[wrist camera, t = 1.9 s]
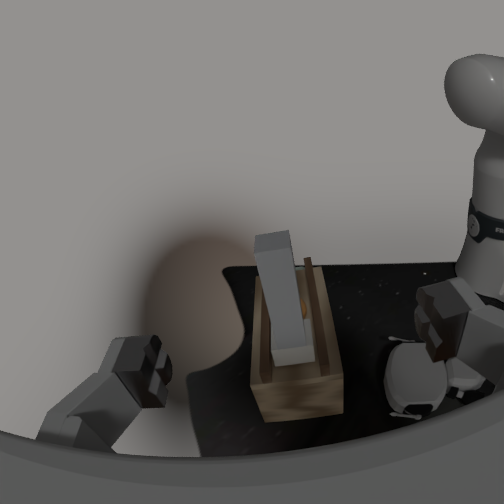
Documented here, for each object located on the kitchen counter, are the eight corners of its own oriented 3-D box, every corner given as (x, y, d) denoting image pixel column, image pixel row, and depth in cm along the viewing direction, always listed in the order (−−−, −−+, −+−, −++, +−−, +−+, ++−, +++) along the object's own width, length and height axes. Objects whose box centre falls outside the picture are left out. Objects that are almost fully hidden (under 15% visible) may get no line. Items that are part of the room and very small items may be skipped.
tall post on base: (312, 335, 37) (295, 223, 29) (315, 361, 34) (299, 246, 26) (274, 340, 38) (248, 231, 30) (275, 366, 34) (245, 254, 27)
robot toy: (472, 352, 38) (380, 354, 42) (482, 331, 36) (385, 332, 40) (486, 422, 28) (379, 429, 33) (500, 404, 26) (386, 412, 30)
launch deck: (325, 310, 53) (319, 255, 48) (343, 413, 36) (343, 362, 31) (266, 318, 55) (253, 265, 49) (264, 422, 38) (245, 374, 32)
